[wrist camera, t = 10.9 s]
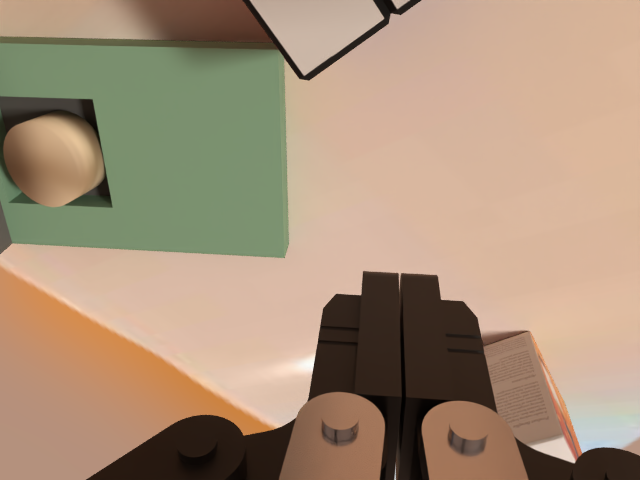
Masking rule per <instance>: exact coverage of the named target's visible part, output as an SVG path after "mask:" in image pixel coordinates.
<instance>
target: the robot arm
mask: <svg viewBox="0 0 640 480" xmlns="http://www.w3.org/2000/svg"><path fill="white" fill-rule="evenodd" d="M395 465H396V480H640V456H639V455H636V454H634V453H631V452H628V451H625V450H621V449H616V448H604V447H603V448H595V449H591V450H588V451H586V452H584V453H583V454H581V455H580V456H579V457H578V458H577V460H576V461H575V463H572V462H569V461H566V460H563V459H560V458H557V457H554V456H551V455H548V454H545V453H542V452H540V451H537V450H535V449H533V448H531V447H529V446H527V445H526V444H524V443H522V442H521V441H519V440H518V439H517V438H516V437H514V434H513V432H512V430H511V428H510V426H509V425H508V423H507V422H506V421H505V420H504V419H503V418H502V417H501V416H500V415H498V412H497V408H496V403H495V399H494V394H493V389H492V385H491V380H490V375H489V371H488V366H487V361H486V357H485V355H484V347H483V343H482V339H481V333H480V329H479V324H478V319H477V317H476V316H475V315H474V313H473V312H472V311H471V310H470V309H469V308H468V306H467V305H466V304H465V303H464V302H463V301H450V300H441V297H440V289H439V282H438V276H437V275H424V274H406V273H401V278H400V289H399V274H398V273H386V272H368V271H363V280H362V294H361V295H345V294H336V295H335V296H334V297H333V298H332V299H331V300H330V301H329V302H328V304H327V305H326V306H325V307H324V308H323V313H322V319H321V325H320V331H319V338H318V344H317V350H316V356H315V362H314V368H313V374H312V380H311V386H310V393H309V398H308V402H307V403H306V404H305V405H304V406H303V407H302V408H301V409H300V411H299V412H298V415H297V417H296V418H295V419H294V420H292V421H291V422H290V423H288V424H286V425H284V426H282V427H280V428H277V429H274V430H271V431H266V432H261V433H256V434H250V435H245V436H243V434H242V432H241V430H240V429H239V428H238V427H237V426H236V425H235V424H234V423H232V422H231V421H229V420H227V419H225V418H222V417H219V416H213V415H199V416H192V417H189V418H185V419H183V420H180V421H178V422H176V423H174V424H173V425H171V426H169V427H168V428H166V429H164V430H163V431H161V432H160V433H158V434H157V435H155V436H153V437H152V438H150V439H149V440H147V441H146V442H144V443H143V444H141V445H139V446H138V447H136V448H135V449H133V450H132V451H130V452H129V453H127V454H125V455H124V456H122V457H121V458H119V459H118V460H116V461H115V462H113V463H111V464H110V465H108V466H107V467H105V468H104V469H102V470H101V471H99V472H97V473H96V474H94V475H93V476H91V477H90V478H88V479H86V480H394V475H395Z"/></svg>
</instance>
